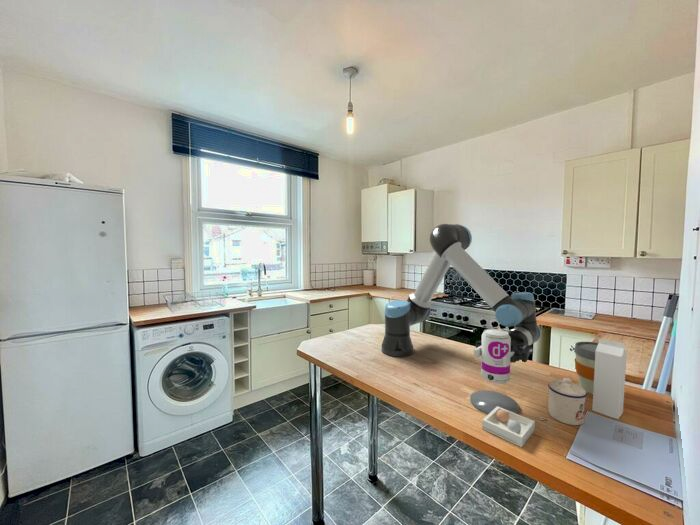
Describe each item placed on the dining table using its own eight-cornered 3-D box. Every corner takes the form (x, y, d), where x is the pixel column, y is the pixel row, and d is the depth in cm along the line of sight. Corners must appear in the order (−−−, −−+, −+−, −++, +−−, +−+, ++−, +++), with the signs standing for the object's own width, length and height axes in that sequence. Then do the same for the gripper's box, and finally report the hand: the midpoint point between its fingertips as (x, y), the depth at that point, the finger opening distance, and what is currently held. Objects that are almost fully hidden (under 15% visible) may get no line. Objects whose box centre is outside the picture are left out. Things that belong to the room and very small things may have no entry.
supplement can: (512, 386, 88) (513, 337, 87) (482, 382, 90) (483, 335, 89) (507, 374, 95) (508, 329, 94) (479, 371, 98) (480, 327, 97)
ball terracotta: (494, 420, 84) (495, 410, 83) (499, 416, 86) (499, 405, 86) (506, 426, 81) (507, 415, 81) (511, 421, 83) (511, 410, 83)
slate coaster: (462, 403, 94) (462, 400, 94) (481, 388, 104) (481, 386, 104) (508, 423, 84) (508, 420, 84) (525, 404, 93) (525, 402, 93)
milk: (618, 420, 85) (622, 346, 83) (591, 410, 90) (595, 340, 88) (623, 412, 88) (627, 341, 87) (597, 403, 93) (601, 336, 91)
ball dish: (482, 428, 82) (482, 419, 81) (497, 414, 88) (497, 406, 88) (521, 447, 74) (521, 437, 74) (534, 430, 81) (534, 421, 81)
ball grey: (505, 432, 79) (505, 421, 79) (510, 427, 81) (510, 416, 81) (518, 438, 76) (518, 426, 76) (522, 432, 78) (523, 421, 78)
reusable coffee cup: (572, 391, 101) (574, 349, 100) (572, 377, 111) (574, 338, 110) (622, 403, 93) (624, 357, 92) (617, 387, 103) (619, 345, 102)
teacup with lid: (583, 430, 80) (586, 389, 79) (544, 417, 86) (546, 379, 85) (587, 411, 89) (589, 374, 88) (551, 400, 95) (552, 366, 94)
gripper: (551, 358, 97) (527, 381, 82) (486, 343, 112) (456, 360, 97) (551, 336, 96) (527, 355, 81) (487, 324, 112) (457, 337, 97)
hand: (489, 358), depth 89 cm, fingers closed on supplement can, 8 cm apart
